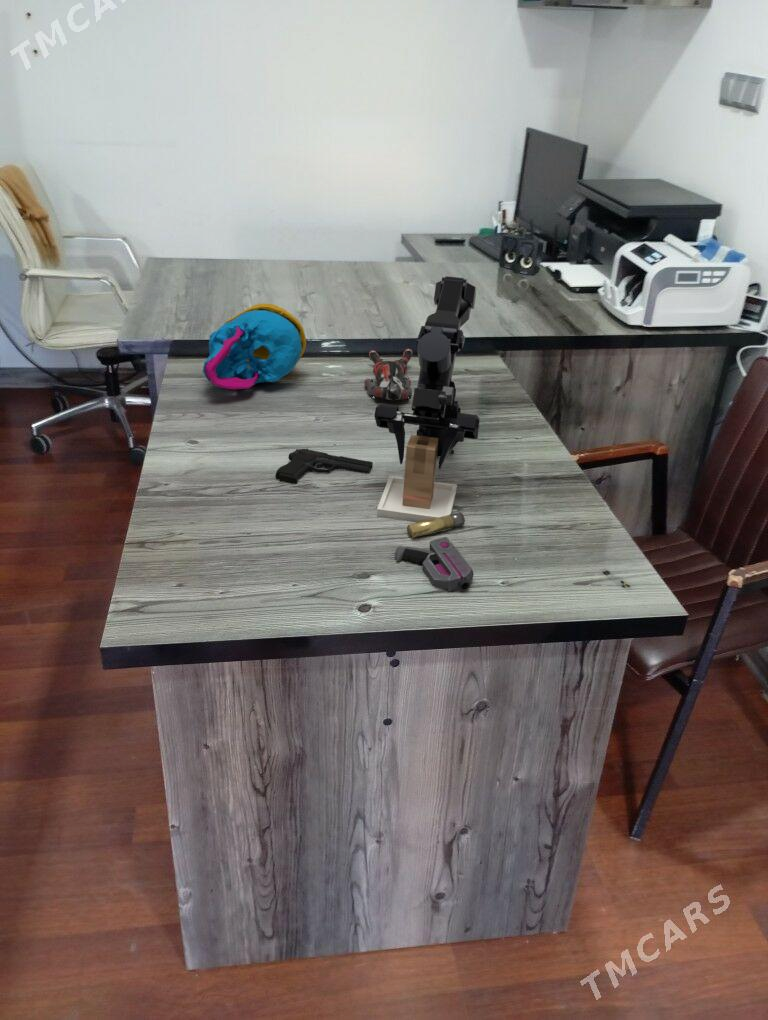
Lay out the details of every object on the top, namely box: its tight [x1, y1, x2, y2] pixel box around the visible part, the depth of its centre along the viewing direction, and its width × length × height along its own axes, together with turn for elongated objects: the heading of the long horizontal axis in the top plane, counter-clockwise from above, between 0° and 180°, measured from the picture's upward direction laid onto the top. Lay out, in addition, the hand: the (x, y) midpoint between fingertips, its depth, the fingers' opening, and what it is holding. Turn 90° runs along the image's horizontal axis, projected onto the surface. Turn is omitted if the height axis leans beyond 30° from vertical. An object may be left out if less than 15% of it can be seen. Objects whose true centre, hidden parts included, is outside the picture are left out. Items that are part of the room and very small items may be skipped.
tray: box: [376, 475, 458, 523], centre depth 154 cm, size 13×13×2 cm
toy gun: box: [394, 536, 475, 592], centre depth 135 cm, size 14×3×10 cm
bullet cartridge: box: [406, 511, 466, 539], centre depth 146 cm, size 10×2×2 cm, turn 118°
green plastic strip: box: [602, 570, 631, 588], centre depth 136 cm, size 6×1×2 cm
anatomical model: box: [202, 302, 307, 390], centre depth 195 cm, size 18×25×25 cm
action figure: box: [364, 348, 413, 401], centre depth 199 cm, size 10×11×30 cm
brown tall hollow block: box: [402, 434, 438, 509], centre depth 151 cm, size 5×5×12 cm
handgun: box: [274, 448, 374, 485], centre depth 162 cm, size 3×17×12 cm
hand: (420, 465), depth 149 cm, fingers open, 7 cm apart
